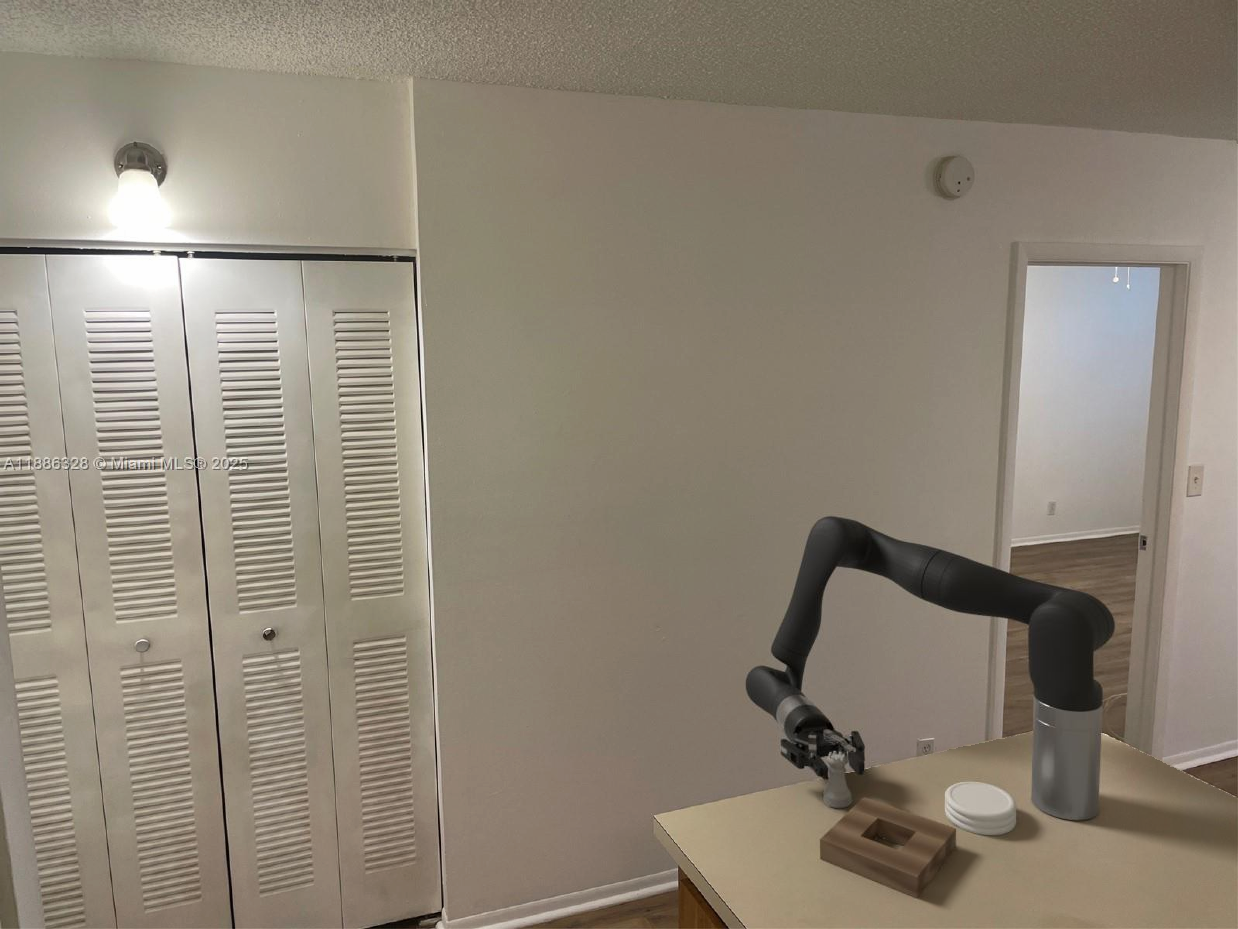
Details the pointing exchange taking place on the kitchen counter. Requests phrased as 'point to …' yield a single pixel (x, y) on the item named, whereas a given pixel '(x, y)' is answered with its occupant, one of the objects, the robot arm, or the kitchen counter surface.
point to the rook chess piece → (837, 782)
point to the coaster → (980, 808)
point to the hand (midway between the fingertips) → (843, 771)
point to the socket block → (883, 864)
